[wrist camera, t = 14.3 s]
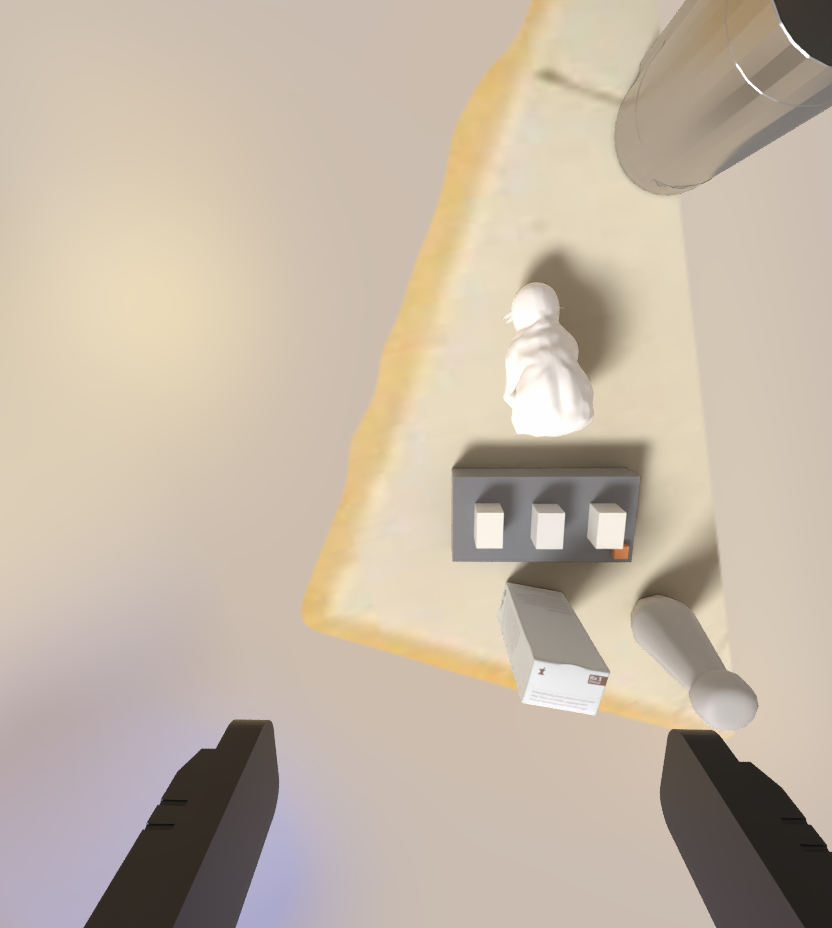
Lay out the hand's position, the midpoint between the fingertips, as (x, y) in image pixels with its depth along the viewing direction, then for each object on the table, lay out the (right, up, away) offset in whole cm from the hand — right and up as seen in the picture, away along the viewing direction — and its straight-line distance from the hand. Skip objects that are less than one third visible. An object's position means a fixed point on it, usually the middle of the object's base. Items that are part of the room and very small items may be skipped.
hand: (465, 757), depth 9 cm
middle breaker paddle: (+10, +1, +31) cm, 33 cm away
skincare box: (+11, -8, +37) cm, 39 cm away
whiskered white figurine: (+9, +15, +31) cm, 36 cm away
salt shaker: (+23, -9, +37) cm, 44 cm away
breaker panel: (+10, +2, +34) cm, 36 cm away
